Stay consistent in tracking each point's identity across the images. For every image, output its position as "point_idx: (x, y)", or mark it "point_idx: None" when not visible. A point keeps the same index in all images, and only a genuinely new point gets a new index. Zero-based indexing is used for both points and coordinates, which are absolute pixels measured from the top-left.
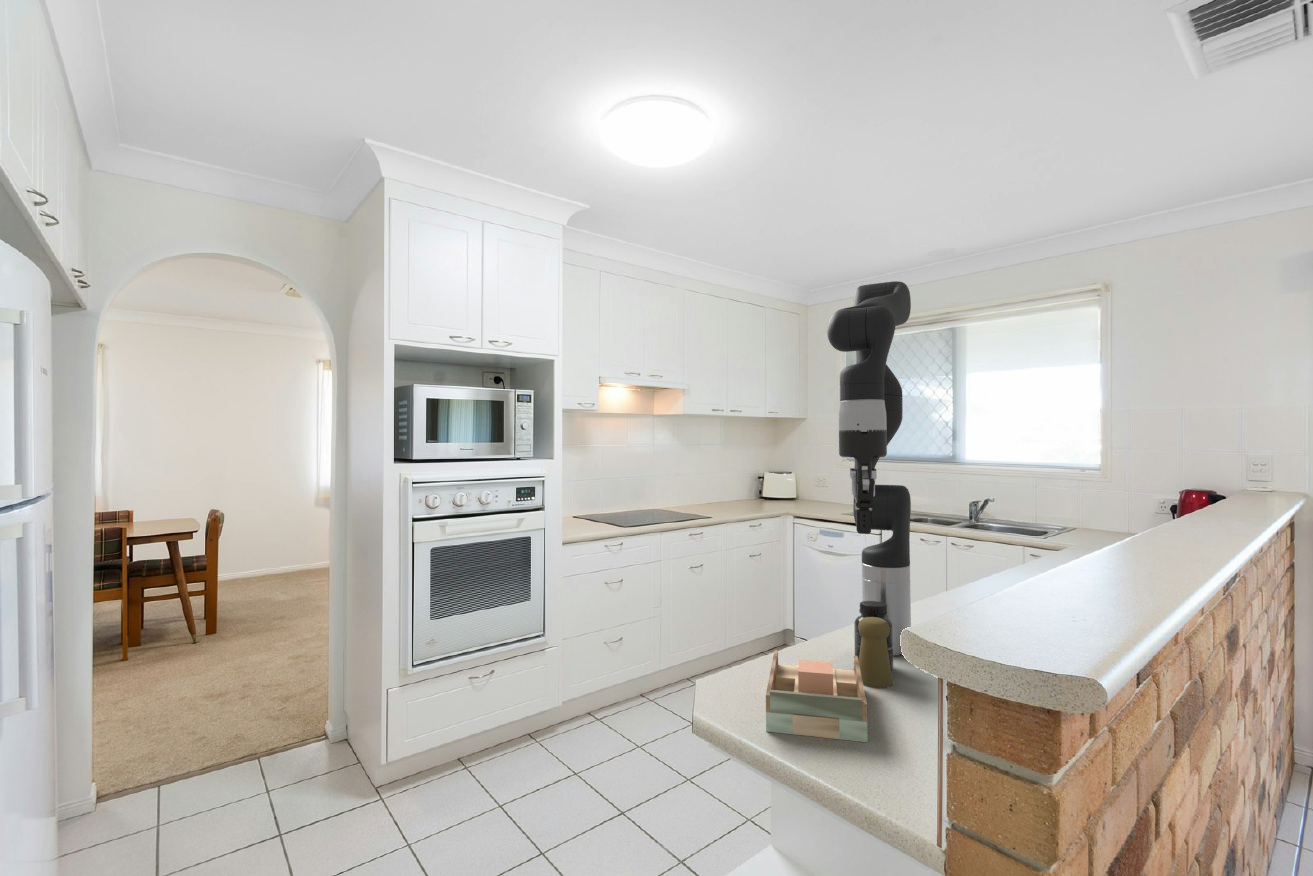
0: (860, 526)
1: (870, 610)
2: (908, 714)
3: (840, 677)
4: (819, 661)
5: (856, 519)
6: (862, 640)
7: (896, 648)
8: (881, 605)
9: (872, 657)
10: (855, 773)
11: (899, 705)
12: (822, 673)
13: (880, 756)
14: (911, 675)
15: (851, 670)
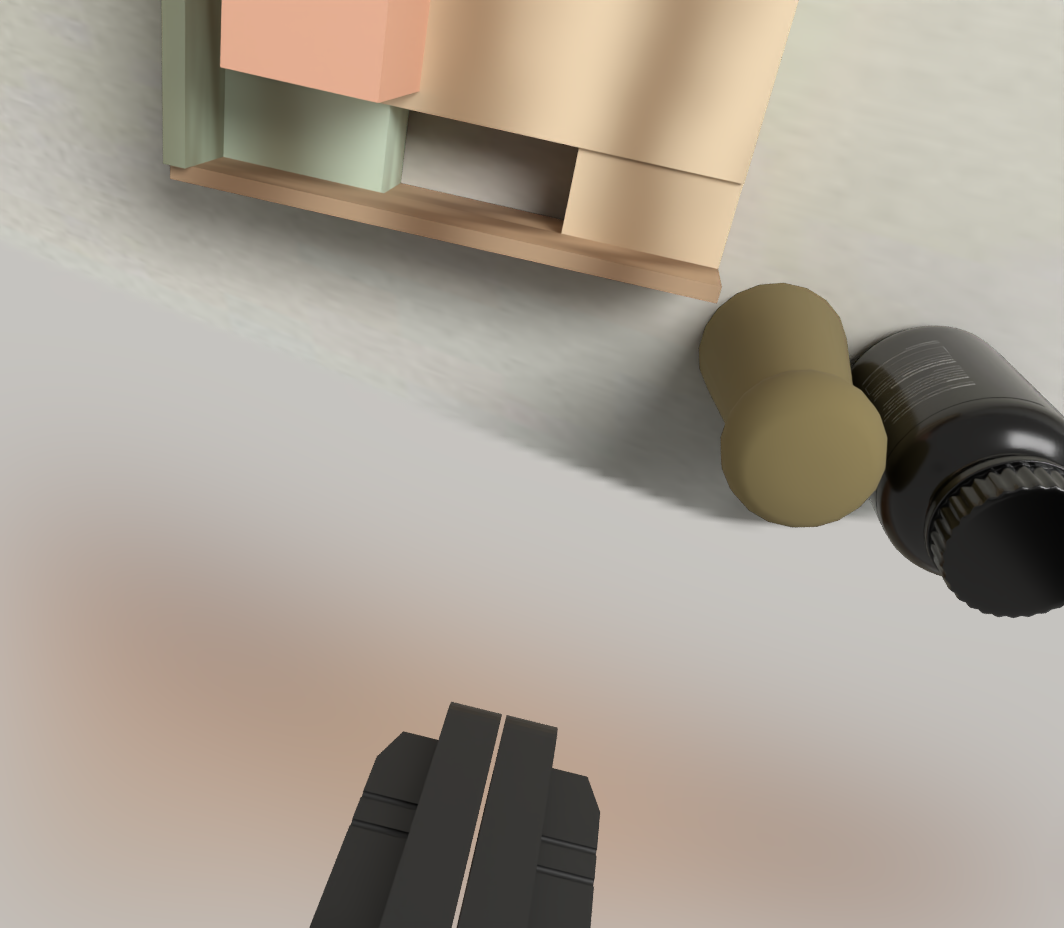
0: (370, 774)
1: (952, 506)
2: (464, 369)
3: (633, 182)
4: (383, 33)
5: (492, 843)
6: (793, 368)
7: None
8: (971, 582)
9: (727, 373)
10: (28, 56)
11: (537, 366)
12: (221, 12)
13: (152, 173)
14: None
15: (717, 257)
